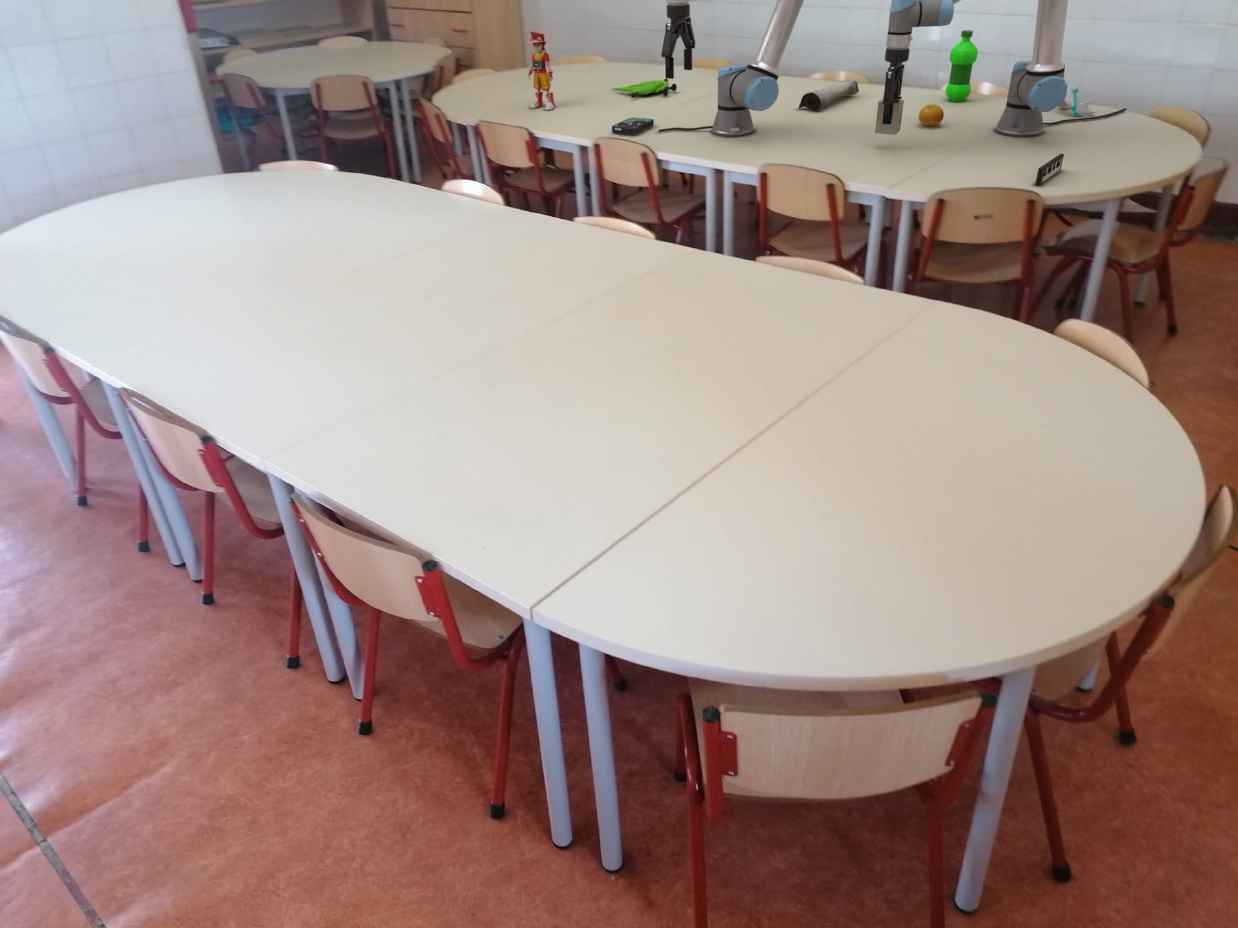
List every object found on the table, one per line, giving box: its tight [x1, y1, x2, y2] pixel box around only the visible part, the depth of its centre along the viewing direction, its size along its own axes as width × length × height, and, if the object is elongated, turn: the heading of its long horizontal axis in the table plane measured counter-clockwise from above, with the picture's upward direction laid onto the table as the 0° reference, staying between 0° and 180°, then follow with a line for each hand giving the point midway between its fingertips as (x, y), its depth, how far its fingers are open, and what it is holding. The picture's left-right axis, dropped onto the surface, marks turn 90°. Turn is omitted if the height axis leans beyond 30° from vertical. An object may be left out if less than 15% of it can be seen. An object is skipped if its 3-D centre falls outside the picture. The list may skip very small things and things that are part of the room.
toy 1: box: [527, 31, 556, 111], centre depth 374 cm, size 12×9×30 cm
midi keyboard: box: [1035, 153, 1065, 186], centre depth 273 cm, size 18×1×5 cm, turn 138°
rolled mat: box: [798, 79, 860, 112], centre depth 363 cm, size 30×9×10 cm
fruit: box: [918, 104, 945, 127], centre depth 327 cm, size 8×8×8 cm
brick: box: [874, 98, 905, 135], centre depth 304 cm, size 7×5×10 cm
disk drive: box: [611, 116, 655, 136], centre depth 345 cm, size 10×3×15 cm
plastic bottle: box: [945, 29, 979, 102], centre depth 350 cm, size 10×10×25 cm
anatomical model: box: [1058, 84, 1096, 117], centre depth 331 cm, size 15×10×10 cm
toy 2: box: [612, 78, 677, 99], centre depth 396 cm, size 28×5×30 cm
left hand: (679, 74), depth 301 cm, fingers open, 13 cm apart
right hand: (889, 121), depth 305 cm, fingers closed on brick, 5 cm apart
